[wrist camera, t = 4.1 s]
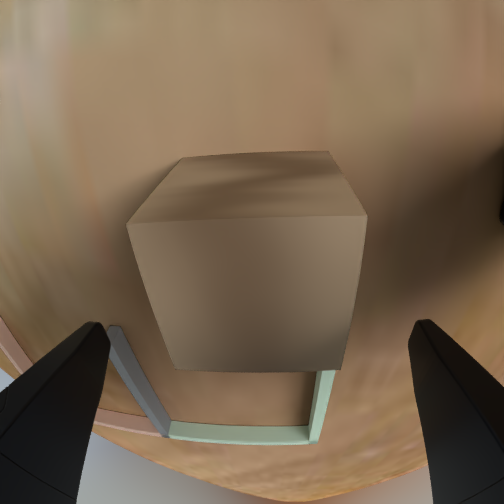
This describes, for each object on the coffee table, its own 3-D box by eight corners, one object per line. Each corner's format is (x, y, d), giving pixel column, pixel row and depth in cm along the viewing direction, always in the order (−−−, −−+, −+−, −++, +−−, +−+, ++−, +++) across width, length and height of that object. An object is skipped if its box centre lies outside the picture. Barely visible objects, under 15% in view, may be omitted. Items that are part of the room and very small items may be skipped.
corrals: (336, 328, 17) (339, 349, 16) (316, 428, 25) (317, 443, 24) (-7, 311, 20) (-16, 323, 18) (59, 401, 27) (55, 412, 26)
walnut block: (328, 150, 12) (367, 215, 7) (322, 270, 15) (340, 369, 10) (183, 157, 13) (125, 224, 8) (202, 272, 16) (175, 369, 11)
